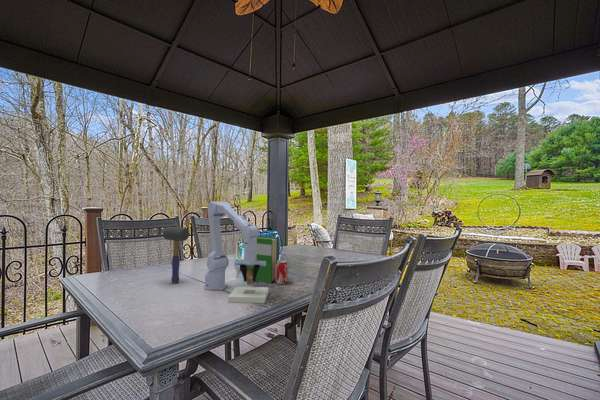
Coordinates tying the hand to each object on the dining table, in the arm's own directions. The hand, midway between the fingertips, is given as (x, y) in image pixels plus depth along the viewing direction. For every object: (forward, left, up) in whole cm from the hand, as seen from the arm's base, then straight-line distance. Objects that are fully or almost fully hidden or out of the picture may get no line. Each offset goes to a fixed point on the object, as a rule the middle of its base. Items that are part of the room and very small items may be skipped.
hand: (249, 281), depth 128 cm
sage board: (0, 0, -8) cm, 8 cm away
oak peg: (0, 0, -2) cm, 2 cm away
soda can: (+13, +23, -8) cm, 28 cm away
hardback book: (+1, +29, -8) cm, 30 cm away
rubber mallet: (-44, +20, -8) cm, 49 cm away
